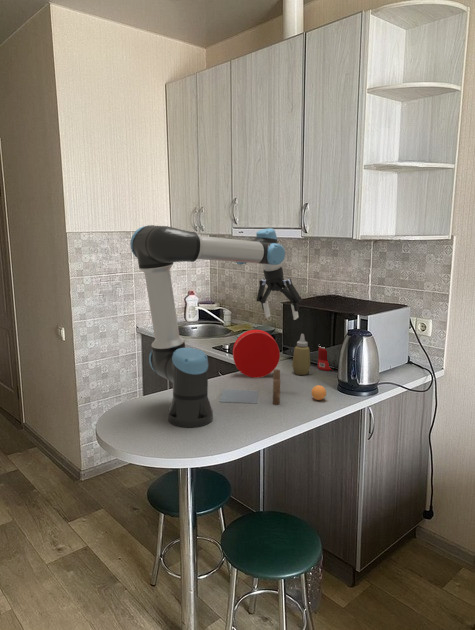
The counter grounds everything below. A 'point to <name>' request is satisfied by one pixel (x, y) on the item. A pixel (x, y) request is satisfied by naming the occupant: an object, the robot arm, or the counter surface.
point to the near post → (276, 392)
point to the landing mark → (239, 396)
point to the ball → (318, 392)
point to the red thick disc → (256, 353)
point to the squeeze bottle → (301, 357)
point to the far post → (276, 374)
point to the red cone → (323, 359)
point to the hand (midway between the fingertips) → (281, 317)
